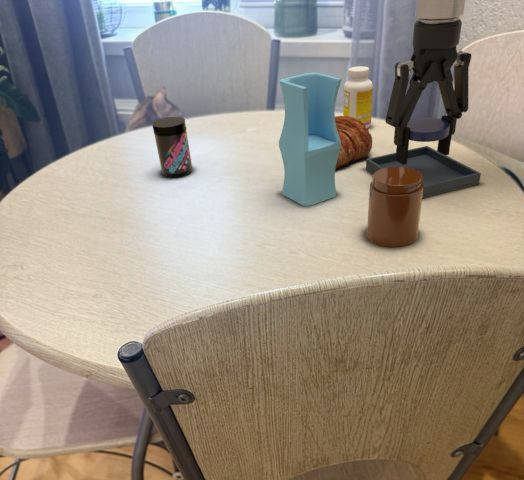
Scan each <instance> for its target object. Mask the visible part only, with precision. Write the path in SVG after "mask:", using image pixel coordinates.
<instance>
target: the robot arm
mask: <svg viewBox="0 0 524 480" xmlns="http://www.w3.org/2000/svg"><path fill="white" fill-rule="evenodd" d="M415 2H416V3H415V14H414V16H415V18H416V19H418V20H416V21H415V22H414V24H413V34H412V48H413V49H412V50H413V52H412V55H411V57H410V59H409V60H408V61H404V62H399V61H398V62H396V63H395V64H394V82H393V85H392V89H391V94H390V99H389V103H388V107H387V111H386V115H385V120H384V122H385V123H386V124H387V125H389V126H391V127H393V128H394V132H393V133H394V134H393V145H395V146H396V152H395V153H396V161H397V162H399V163H401V164H402V165H405V164H407V157H408V150H409V145H410V140H409V137H410V128H409V127H407V124H408V122H409V120H410V119H411V118H412V116H413V113H414V111H415V109H416V106H417V104H418V102H419V99H420V97H421V95H422V93H423V91H424V90H426V88H427V87H428V84H432V83H434V82H437V83H438V88H439V92H440V95H441V100H442V103H443V106H444V110H445V111H444V112H445V114H446V115H441V118H440V119H443V120H446V121H448V122H449V123H450V128H449V135H448V136H447V137H446V138H444V139H442V140H438V141H437V147H436V148H437V149H436V151H438V152H440V153H442V154H444V155H446V156H449V155H450V150H451V143H452V137H453V135H455V133H456V129H457V128H456V127H457V122H458V120H460V119H462V117H463V113H466V112H468V110H469V69H470V68H469V67H470V64H471V61H472V53H470V52H466V51H462V50H459V51H457V47H458V45H459V43H460V39H461V34H462V33H461V32H462V24H463V22H462V20H461V18H460V17H462V16H463V15H464V12H465V6H466V5H465V4H466V0H416V1H415ZM452 67H453V73H452V70H451V69H452ZM412 71H413V72H412ZM410 76H411V77H410Z"/></svg>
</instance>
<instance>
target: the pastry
mask: <svg viewBox="0 0 524 480" xmlns="http://www.w3.org/2000/svg"><path fill="white" fill-rule="evenodd" d="M335 123H336V128H337V131H338V135H339V138H340V141H341V148H340V152H339V155H338V159H337V163H336V168H335V171H336V170H338V169H340V168H343V167H346V166H347V165H349V164H353V163H354V162H357V161H360V160H364V159H365V158H366V157H368V156H369V154H370V153H371V151H372V147H373V136H372V134H371V133H370V131H369V129H368V128H367V129H366V127H365V125H364V124H363V123H362V122H361V121H360V120H358V119H356V118H353V117H349V116H343V115H335Z"/></svg>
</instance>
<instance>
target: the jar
mask: <svg viewBox="0 0 524 480" xmlns="http://www.w3.org/2000/svg"><path fill="white" fill-rule="evenodd" d="M422 181H423V179H422V175H421V173H420V172H418V171H417V170H414V169H411V168H406V167H389V168H384V169H380V170H378V171H376V172H375V173H374V174H372V180H371V182H370V183H369V193H368V210H367V211H368V212H367V225H366V227H367V228H366V230H367V231H366V236H367V239H368V240H369V241H370V242H372V243H373V244H375V245H378V246H381V247H386V248H400V247H407V246H408V245H409V246H410V245H411V244H413V243H415V241H416V240H417V239H418V234H419V226H420V221H421V211H422V203H423V198H422V196H423V188H424V184H423V182H422Z"/></svg>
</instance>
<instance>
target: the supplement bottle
mask: <svg viewBox="0 0 524 480" xmlns="http://www.w3.org/2000/svg"><path fill="white" fill-rule="evenodd" d="M369 74H370V67H368V66H365V65H364V66H363V65H362V66H351V67H349V68H348V71H347V76H348V80H346V81H345V82H344V84H343V104H342V105H343V109H342V111H343V112H342V113H343V114H342V116H349V117H353V118H356V119H358V120H360V121H361V122H362V123H363V124H364V125H365V127H366V129H367V130H368V129H369V128H370V127H371V125H372V111H373V110H372V109H373V91H374V89H373V88H374V85H373V82H372V80H371V79H369Z"/></svg>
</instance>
